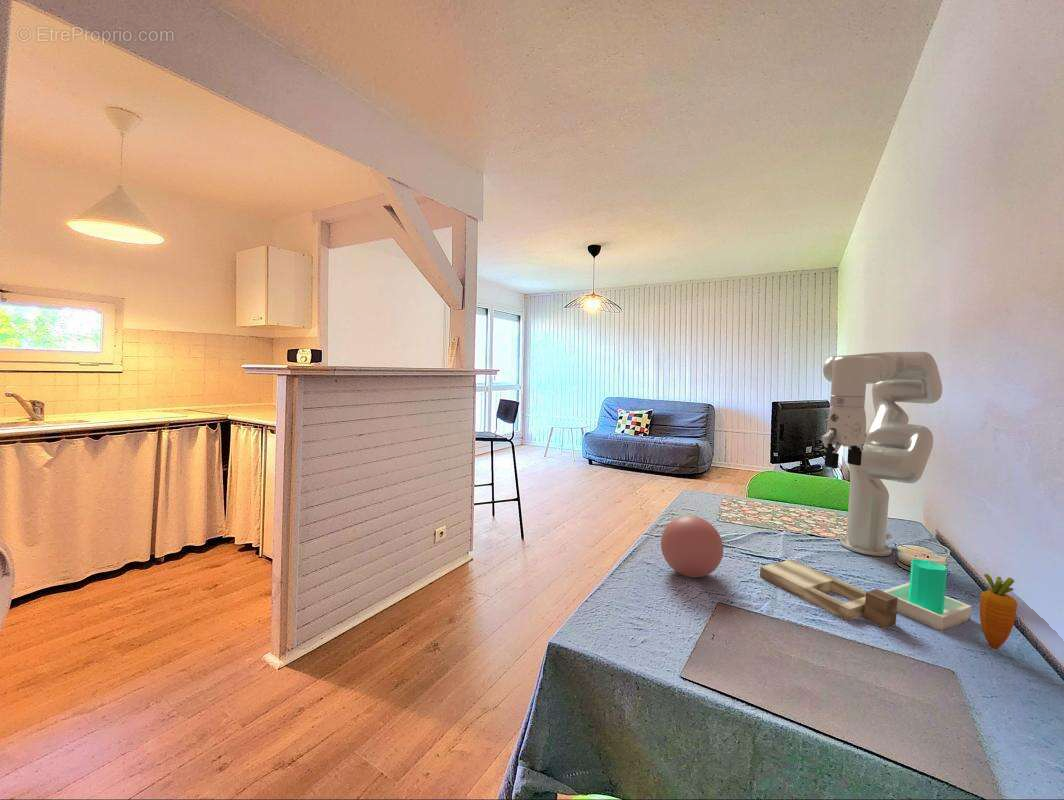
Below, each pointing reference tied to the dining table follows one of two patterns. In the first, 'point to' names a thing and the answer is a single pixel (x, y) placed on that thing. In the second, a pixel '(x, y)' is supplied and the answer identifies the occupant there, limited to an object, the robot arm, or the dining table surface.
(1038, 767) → the dining table surface
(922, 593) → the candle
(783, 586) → the wooden slotted peg board
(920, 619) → the tray
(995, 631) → the carrot
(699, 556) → the brown egg
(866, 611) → the block
